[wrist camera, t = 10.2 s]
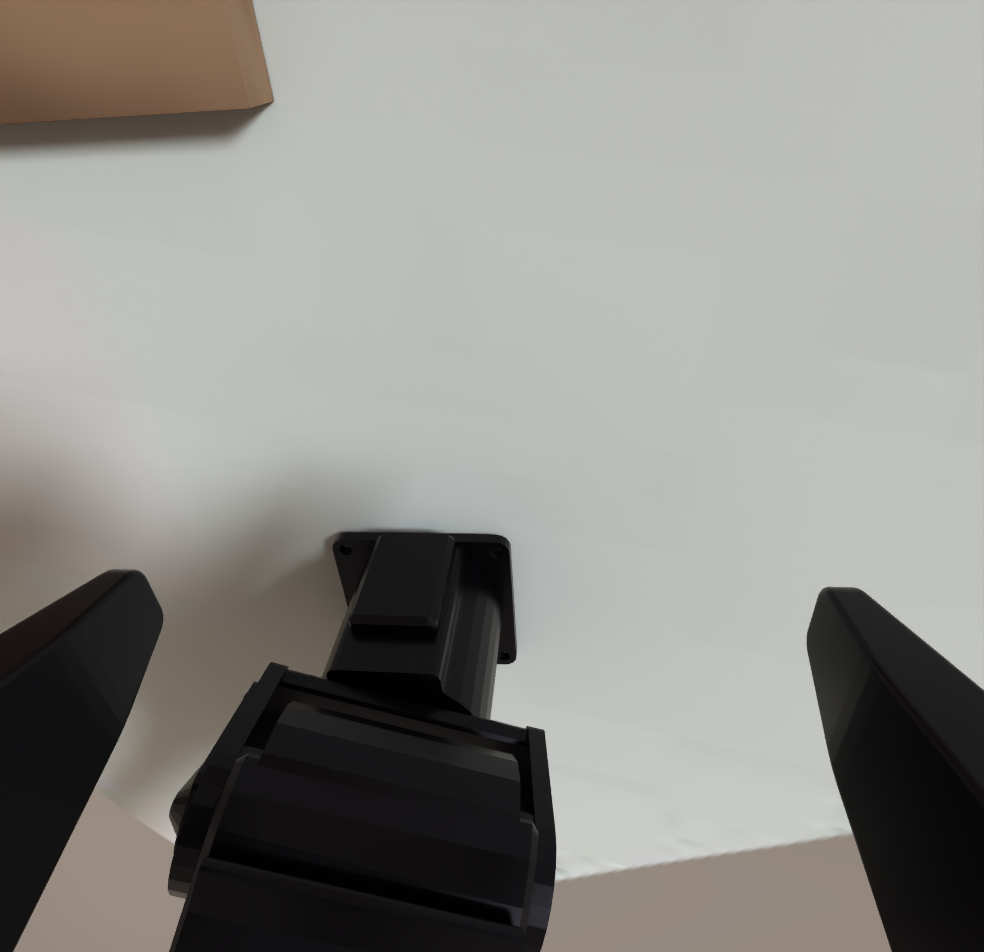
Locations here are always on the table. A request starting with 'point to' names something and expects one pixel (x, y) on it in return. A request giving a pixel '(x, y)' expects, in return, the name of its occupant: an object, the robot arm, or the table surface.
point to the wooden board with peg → (128, 58)
